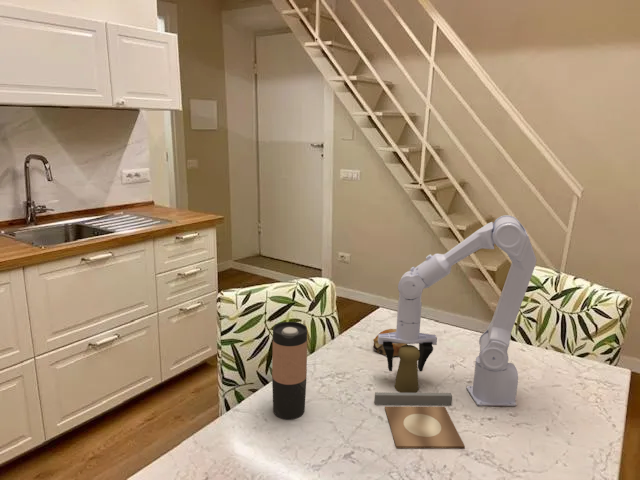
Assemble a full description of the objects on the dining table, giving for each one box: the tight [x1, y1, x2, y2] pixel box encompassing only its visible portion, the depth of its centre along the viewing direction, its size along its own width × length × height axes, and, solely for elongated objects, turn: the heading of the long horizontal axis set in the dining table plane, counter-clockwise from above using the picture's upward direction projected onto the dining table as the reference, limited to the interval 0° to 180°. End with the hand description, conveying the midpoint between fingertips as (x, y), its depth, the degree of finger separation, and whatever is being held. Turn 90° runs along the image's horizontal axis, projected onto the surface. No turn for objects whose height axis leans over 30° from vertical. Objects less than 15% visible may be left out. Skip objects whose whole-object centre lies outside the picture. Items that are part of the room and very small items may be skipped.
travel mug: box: [271, 321, 308, 420], centre depth 105 cm, size 8×8×20 cm
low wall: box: [374, 391, 453, 406], centre depth 111 cm, size 18×1×2 cm, turn 92°
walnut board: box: [384, 405, 466, 449], centre depth 102 cm, size 14×14×1 cm
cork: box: [394, 344, 420, 393], centre depth 117 cm, size 6×6×11 cm
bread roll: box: [372, 328, 408, 358], centre depth 138 cm, size 10×10×8 cm
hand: (405, 369), depth 120 cm, fingers open, 7 cm apart
